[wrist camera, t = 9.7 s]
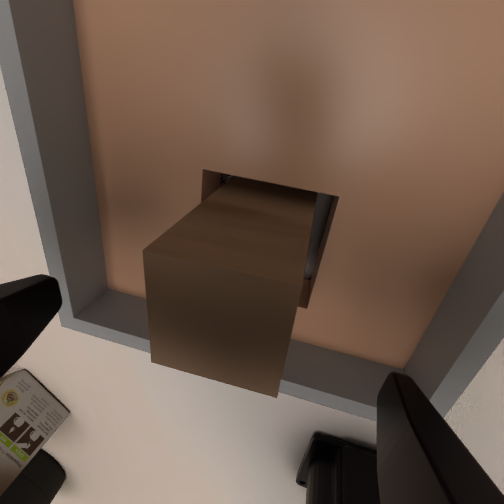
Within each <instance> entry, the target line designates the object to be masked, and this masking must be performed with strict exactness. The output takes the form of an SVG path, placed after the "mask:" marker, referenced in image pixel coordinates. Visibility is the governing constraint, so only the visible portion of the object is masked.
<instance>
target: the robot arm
mask: <svg viewBox="0 0 504 504" xmlns="http://www.w3.org/2000/svg"><path fill="white" fill-rule="evenodd" d="M62 302H63V300H62V295H61V291H60V286H59V282H58V280H57V279H56V278H54V277H51V276H48V275H43V274H40V275H35V276H31V277H28V278H24V279H20V280H16V281H12V282H8V283H4V284H0V379H1V378H2V377H3V375H4V374H5V373H6V372H7V371H8V370H9V369H10V368H11V367H12V366H13V365H14V364H15V363H16V362H17V361H18V360H19V359H20V358H21V356H22V355H23V354H24V353H25V352H26V351H27V349H28V348H29V347H30V346H31V345H32V343H33V342H34V341H35V340H36V338H37V337H38V336H39V335H40V333H41V332H42V331H43V330H44V328H45V327H46V326H47V325H48V324H49V322H50V321H51V320H52V319H53V317H54V316H55V315H56V314H57V312H58V311H59V310H60V308H61V306H62ZM296 482H297V484H298V485H300V486H303V487H306V488H307V492H306V504H504V495H503V494H502V493H501V491H500V490H499V489H498V487H497V486H496V485H495V484H494V482H493V481H492V480H491V479H490V477H489V476H488V475H487V473H486V472H485V471H484V470H483V468H482V467H481V466H480V464H479V463H478V462H477V461H476V459H475V458H474V457H473V456H472V454H471V453H470V452H469V450H468V449H467V448H466V447H465V445H464V444H463V443H462V441H461V440H460V439H459V438H458V436H457V435H456V434H455V433H454V431H453V430H452V429H451V427H450V426H449V425H448V424H447V422H446V421H445V420H444V419H443V417H442V416H441V415H440V413H439V412H438V411H437V410H436V408H435V407H434V406H433V404H432V403H431V402H430V401H429V399H428V398H427V397H426V396H425V394H424V393H423V392H422V390H421V389H420V388H419V387H418V385H417V384H416V383H415V381H414V380H413V379H412V378H411V377H410V376H408V375H406V374H402V373H398V372H395V371H392V372H390V373H389V374H388V376H387V378H386V379H385V381H384V383H383V385H382V387H381V389H380V391H379V393H378V396H377V452H375V451H372V450H369V449H366V448H363V447H359V446H356V445H353V444H350V443H347V442H344V441H340V440H337V439H334V438H331V437H328V436H325V435H321V434H315V435H313V437H312V439H311V441H310V444H309V446H308V449H307V451H306V454H305V456H304V459H303V461H302V463H301V466H300V468H299V471H298V473H297V477H296Z"/></svg>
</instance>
